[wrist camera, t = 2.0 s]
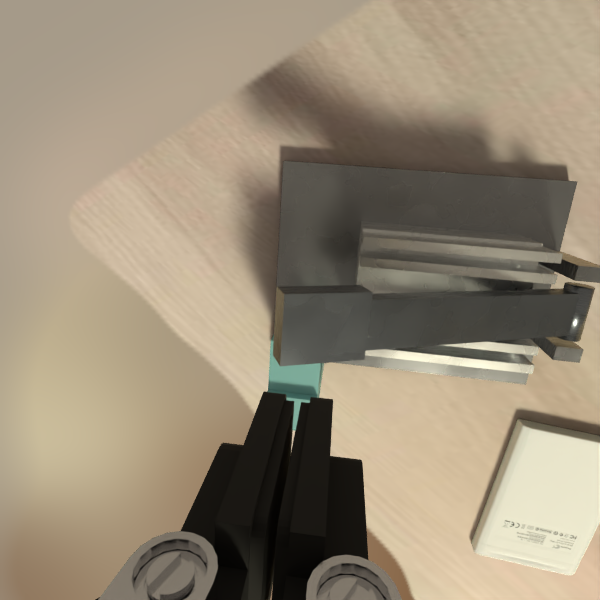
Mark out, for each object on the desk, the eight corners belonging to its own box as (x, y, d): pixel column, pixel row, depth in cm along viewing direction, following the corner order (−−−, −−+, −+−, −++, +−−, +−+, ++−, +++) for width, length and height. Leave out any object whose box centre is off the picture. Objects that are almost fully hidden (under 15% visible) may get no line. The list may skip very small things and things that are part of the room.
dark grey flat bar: (577, 280, 24) (601, 287, 22) (563, 333, 25) (585, 342, 23) (276, 285, 18) (285, 295, 17) (272, 353, 19) (280, 367, 18)
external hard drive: (624, 437, 32) (566, 561, 35) (515, 414, 32) (469, 539, 36) (638, 450, 30) (576, 579, 34) (523, 426, 31) (474, 555, 34)
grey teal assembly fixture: (569, 181, 27) (646, 183, 20) (520, 378, 31) (570, 437, 24) (285, 161, 28) (263, 156, 21) (274, 350, 33) (253, 398, 26)
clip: (329, 304, 30) (321, 350, 22) (323, 367, 31) (313, 432, 23) (290, 300, 30) (268, 344, 22) (286, 363, 32) (264, 426, 24)
